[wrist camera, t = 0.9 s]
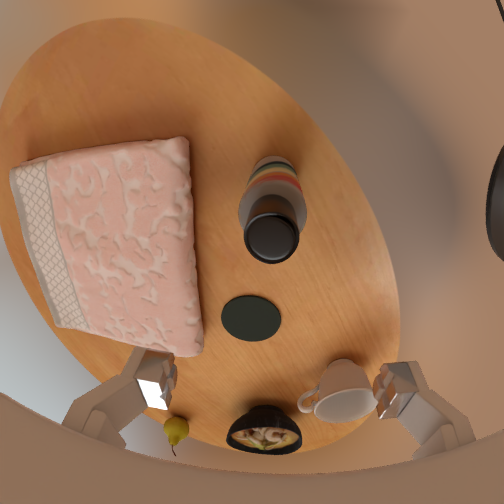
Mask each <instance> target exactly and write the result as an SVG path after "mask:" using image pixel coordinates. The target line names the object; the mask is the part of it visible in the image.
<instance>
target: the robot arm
mask: <svg viewBox="0 0 504 504" xmlns="http://www.w3.org/2000/svg"><path fill="white" fill-rule="evenodd" d="M496 3H497V5H498V8H499V11H500V13H501V16H502V19H503V21H504V10H503V7H502V5H501V2H500V0H496ZM174 360H175V357H174V353H171V352H166V351H161V350H156V349H151V348H145V347H140V346H136V347H135V348H134V349H133V351H132V353H131V355H130V357H129V359H128V361H127V363H126V365H125V367H124V369H123V371H122V373H121V375H116V376H114V377H112V378H111V379H109V380H107V381H106V382H104V383H102V384H101V385H99V386H98V387H96V388H94V389H93V390H91V391H89V392H87V393H86V394H84V395H82V396H81V397H79V398H77V399H76V400H74V401H73V403H72V405H71V407H70V409H69V411H68V412H67V415H66V416H65V418H64V420H63V422H62V424H59V423H56V422H54V421H52V420H50V419H48V418H46V417H44V416H42V415H40V414H38V413H36V412H34V411H33V410H31V409H29V408H27V407H25V406H23V405H22V404H20V403H18V402H17V401H15V400H13V399H12V398H10V397H9V396H7V395H5V394H3V393H0V504H504V429H502V430H500V431H498V432H496V433H494V434H491V435H489V436H487V437H484V438H482V439H479V440H476V438H475V436H474V433H473V430H472V428H471V425H470V422H469V420H468V418H467V417H466V416H465V415H463V414H462V413H461V412H460V411H459V410H457V409H456V408H455V407H454V406H452V405H451V404H450V403H449V402H447V401H446V400H445V399H444V398H442V397H441V396H440V395H438V394H437V393H436V392H435V391H433V390H429V387H428V385H427V383H426V380H425V378H424V375H423V373H422V371H421V368H420V366H419V364H418V362H417V361H409V362H395V363H384V364H383V365H382V366H381V368H380V372H381V373H380V374H379V375H377V376H376V378H375V380H374V382H373V396H374V398H375V399H376V400H377V401H378V404H377V406H376V408H377V412H378V416H379V419H388V418H397V417H398V418H397V419H398V420H399V421H400V422H401V423H402V425H403V426H404V427H405V428H406V429H407V430H408V431H409V433H410V434H411V435H412V436H413V437H414V438H415V439H416V440H417V442H418V443H419V444H420V445H421V447H420V448H419V449H418V450H416V451H415V452H414V454H413V455H412V456H413V460H411V461H407V462H403V463H398V464H393V465H387V466H382V467H375V468H369V469H362V470H354V471H344V472H333V473H318V474H264V473H248V472H237V471H227V470H218V469H211V468H204V467H198V466H192V465H187V464H182V463H177V462H172V461H168V460H163V459H159V458H155V457H151V456H147V455H143V454H140V453H136V452H133V451H130V450H126V449H125V446H126V443H125V441H124V440H123V438H122V437H121V436H120V434H119V433H118V432H119V431H120V430H122V429H123V428H124V427H125V426H126V425H128V424H129V423H130V422H131V421H132V420H133V419H135V418H136V417H137V416H138V415H139V414H141V413H142V412H143V411H144V410H145V409H146V408H148V407H147V406H149V407H154V408H159V409H165V410H168V408H169V405H170V401H171V398H172V395H171V392H170V391H172V390H173V389H174V388H175V386H176V382H177V367H176V365H175V364H173V363H174Z"/></svg>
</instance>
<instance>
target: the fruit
mask: <svg viewBox="0 0 504 504" xmlns="http://www.w3.org/2000/svg"><path fill="white" fill-rule="evenodd" d="M164 432H165V433H166V434H167V435H168V437H169V443H170V445H172V451H173V446H175V445H177V444H178V442H179V441H181V440H182V439H184V438H186V437H187V436H188V433H189V425H188V423H187V421H186V420H185V419H183V418H182V417H172V418H170V419H168V420H166V422H165V424H164ZM173 453H174V451H173ZM174 455H175V453H174ZM175 456H176V455H175Z"/></svg>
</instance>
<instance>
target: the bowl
mask: <svg viewBox="0 0 504 504" xmlns="http://www.w3.org/2000/svg"><path fill="white" fill-rule="evenodd" d="M226 442H227V444H228V445H229V446H231V447H233V448H235V449H238V450H241V451H245V452H251V453H258V454H268V455H283V454H289V453H292V452H295V451H296V450H298V449H299V448H300V447H301V445H302V435H301V431H300V429H299V427H298V426H297V425H296V423H295V422H294V421H293V420H292V419H291V418H290V417H288V416H287V415H285V414H284V412H283V411H282V410H281V409H279V408H277V407H274V406H269V405H262V406H256V407H254V408H252V409H251V410H250V411H249V412H248V413H246V414H245V415H243V416H241V417H240V418H239V419H237V420H236V421H235V422H234V423H233V424H232V426H231V427H230V429H229V432H228V434H227V439H226Z"/></svg>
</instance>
